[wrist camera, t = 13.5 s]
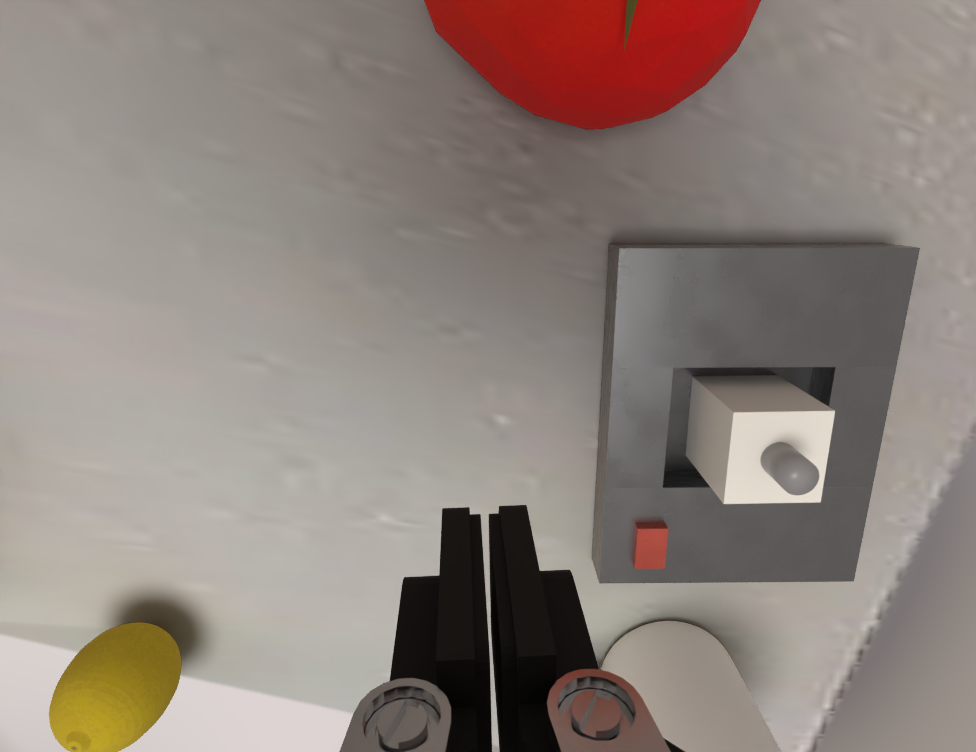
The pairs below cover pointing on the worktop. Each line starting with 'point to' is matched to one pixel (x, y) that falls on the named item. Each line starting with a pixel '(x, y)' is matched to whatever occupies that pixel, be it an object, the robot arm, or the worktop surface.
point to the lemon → (115, 688)
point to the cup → (690, 688)
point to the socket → (740, 352)
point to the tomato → (594, 52)
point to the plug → (758, 439)
